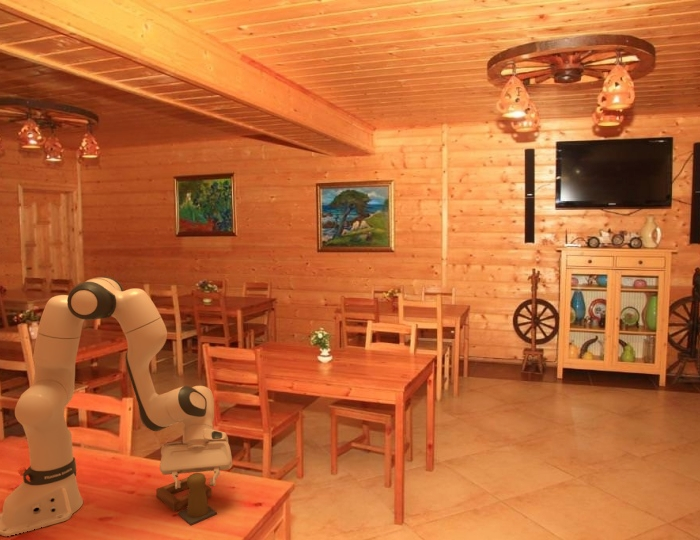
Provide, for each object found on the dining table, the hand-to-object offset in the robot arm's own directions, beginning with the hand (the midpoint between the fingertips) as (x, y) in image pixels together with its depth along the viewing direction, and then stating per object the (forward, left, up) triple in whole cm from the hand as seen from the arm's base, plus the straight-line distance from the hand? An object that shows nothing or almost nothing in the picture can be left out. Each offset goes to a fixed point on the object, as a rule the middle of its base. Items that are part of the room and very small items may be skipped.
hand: (195, 486), depth 156 cm
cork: (+1, 0, -8) cm, 8 cm away
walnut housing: (+2, +12, -8) cm, 15 cm away
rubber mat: (0, 0, -8) cm, 9 cm away
